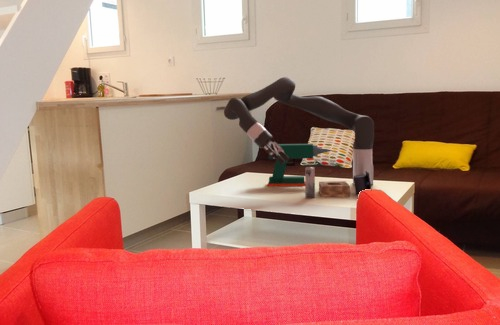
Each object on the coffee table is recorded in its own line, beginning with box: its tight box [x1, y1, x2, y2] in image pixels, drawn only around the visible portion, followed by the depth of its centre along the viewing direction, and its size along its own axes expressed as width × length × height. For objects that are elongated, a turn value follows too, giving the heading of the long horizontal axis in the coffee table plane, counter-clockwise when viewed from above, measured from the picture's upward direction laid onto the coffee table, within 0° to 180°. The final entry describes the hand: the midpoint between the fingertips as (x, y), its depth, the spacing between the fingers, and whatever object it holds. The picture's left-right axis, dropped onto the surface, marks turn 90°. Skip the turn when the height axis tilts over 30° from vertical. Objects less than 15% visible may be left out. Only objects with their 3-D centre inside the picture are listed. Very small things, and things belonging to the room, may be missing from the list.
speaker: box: [352, 171, 372, 196], centre depth 202 cm, size 8×6×10 cm
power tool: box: [267, 143, 333, 187], centre depth 228 cm, size 32×7×20 cm, turn 84°
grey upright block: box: [304, 166, 316, 199], centre depth 198 cm, size 7×4×13 cm, turn 162°
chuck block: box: [318, 180, 351, 198], centre depth 205 cm, size 12×12×4 cm
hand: (285, 161), depth 200 cm, fingers open, 8 cm apart
